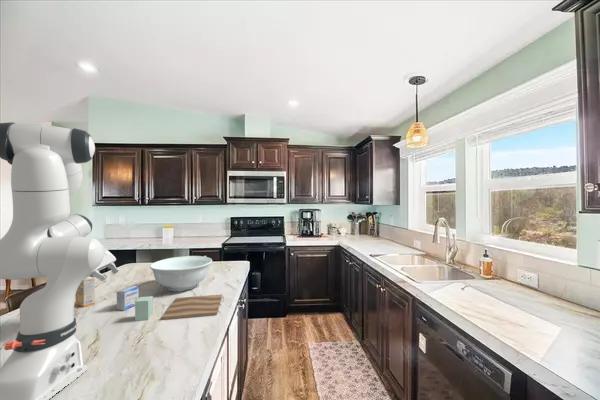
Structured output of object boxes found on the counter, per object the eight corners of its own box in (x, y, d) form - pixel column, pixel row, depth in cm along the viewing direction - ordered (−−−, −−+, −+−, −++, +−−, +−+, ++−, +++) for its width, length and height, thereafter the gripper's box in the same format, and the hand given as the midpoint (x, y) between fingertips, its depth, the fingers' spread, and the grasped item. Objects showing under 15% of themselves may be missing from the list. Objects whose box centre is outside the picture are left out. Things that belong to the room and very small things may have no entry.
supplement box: (74, 304, 125) (74, 277, 125) (86, 301, 129) (86, 274, 129) (83, 307, 121) (83, 279, 121) (95, 304, 125) (95, 276, 126)
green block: (148, 319, 108) (148, 300, 108) (135, 320, 107) (135, 301, 107) (152, 314, 113) (152, 296, 113) (140, 315, 112) (140, 297, 112)
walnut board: (216, 315, 112) (216, 312, 112) (161, 320, 108) (161, 317, 108) (222, 296, 134) (222, 294, 134) (176, 300, 129) (176, 297, 129)
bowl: (184, 300, 129) (184, 271, 129) (135, 293, 140) (135, 266, 140) (223, 281, 160) (223, 257, 160) (181, 276, 170) (181, 254, 170)
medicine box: (124, 310, 117) (124, 291, 117) (116, 310, 118) (116, 291, 118) (138, 304, 125) (138, 286, 125) (131, 303, 126) (130, 285, 126)
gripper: (73, 253, 96) (103, 277, 98) (103, 243, 116) (128, 263, 118) (59, 265, 96) (90, 290, 98) (92, 253, 116) (117, 274, 118)
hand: (111, 275), depth 108 cm, fingers open, 8 cm apart
